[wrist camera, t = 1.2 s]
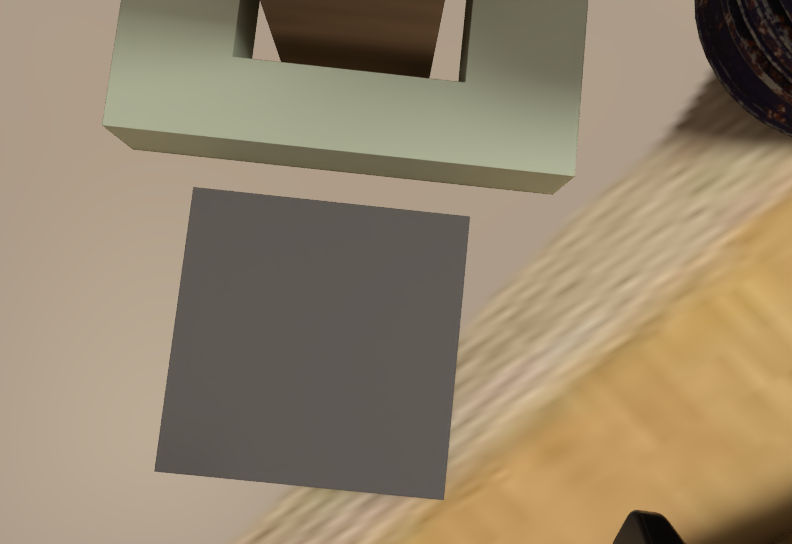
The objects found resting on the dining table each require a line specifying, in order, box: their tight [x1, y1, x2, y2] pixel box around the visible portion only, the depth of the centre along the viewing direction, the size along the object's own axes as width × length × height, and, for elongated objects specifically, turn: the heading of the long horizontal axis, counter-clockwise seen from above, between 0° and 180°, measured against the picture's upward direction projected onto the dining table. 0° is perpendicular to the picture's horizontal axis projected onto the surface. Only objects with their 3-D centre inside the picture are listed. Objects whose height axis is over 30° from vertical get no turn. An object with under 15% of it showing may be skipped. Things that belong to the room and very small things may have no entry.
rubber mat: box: [155, 187, 470, 500], centre depth 21 cm, size 9×9×1 cm
